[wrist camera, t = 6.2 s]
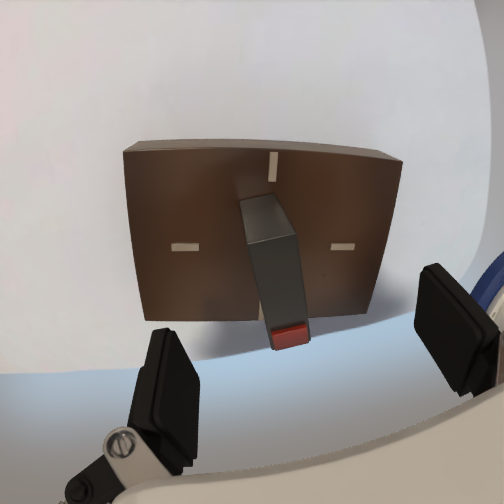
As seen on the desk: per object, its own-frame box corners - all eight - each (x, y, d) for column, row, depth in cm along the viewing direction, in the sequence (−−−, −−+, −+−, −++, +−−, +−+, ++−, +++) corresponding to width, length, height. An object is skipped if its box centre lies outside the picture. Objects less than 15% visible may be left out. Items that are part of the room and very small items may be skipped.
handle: (238, 200, 15) (246, 246, 11) (275, 192, 15) (298, 235, 11) (259, 292, 17) (272, 354, 13) (291, 285, 17) (312, 345, 13)
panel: (378, 150, 17) (405, 162, 14) (351, 288, 22) (367, 315, 19) (138, 141, 16) (121, 151, 13) (152, 292, 20) (144, 322, 18)
